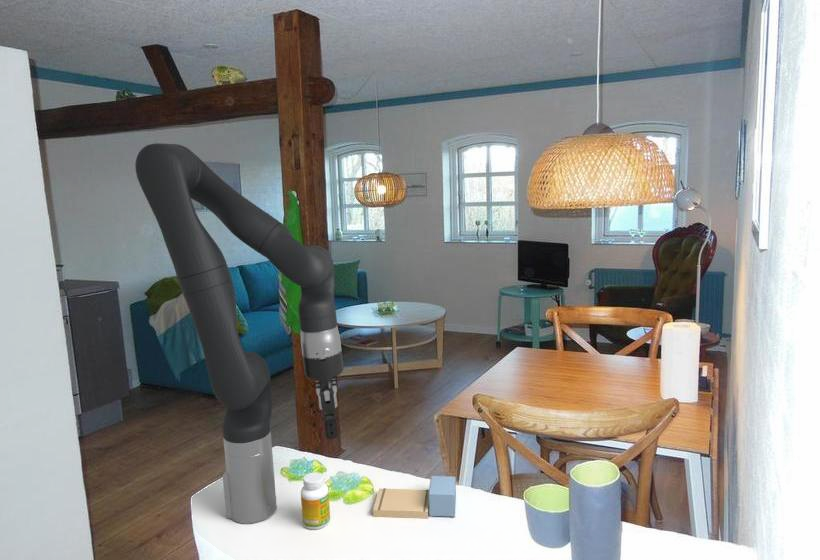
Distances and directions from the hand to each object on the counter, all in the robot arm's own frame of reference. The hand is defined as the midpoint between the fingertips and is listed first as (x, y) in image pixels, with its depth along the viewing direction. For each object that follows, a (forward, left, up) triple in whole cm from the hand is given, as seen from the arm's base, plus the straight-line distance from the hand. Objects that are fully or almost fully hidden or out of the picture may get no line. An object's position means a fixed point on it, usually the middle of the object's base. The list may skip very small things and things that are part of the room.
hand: (331, 428), depth 117 cm
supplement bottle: (-3, -4, -19) cm, 19 cm away
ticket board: (+13, +3, -18) cm, 23 cm away
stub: (+22, +3, -18) cm, 28 cm away
